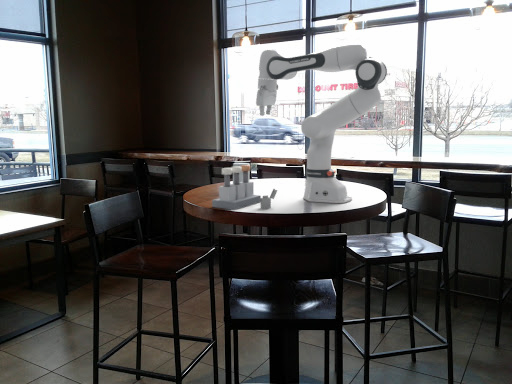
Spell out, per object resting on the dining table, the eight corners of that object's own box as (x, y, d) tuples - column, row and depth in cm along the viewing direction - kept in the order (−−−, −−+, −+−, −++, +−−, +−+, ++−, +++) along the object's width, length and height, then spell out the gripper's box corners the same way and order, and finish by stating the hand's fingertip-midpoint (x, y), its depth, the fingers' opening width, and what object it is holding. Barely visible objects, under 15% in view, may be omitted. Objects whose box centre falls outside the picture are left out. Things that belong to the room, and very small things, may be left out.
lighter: (261, 208, 187) (261, 189, 186) (260, 207, 189) (260, 189, 188) (277, 207, 189) (277, 188, 188) (276, 206, 191) (276, 188, 190)
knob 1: (234, 190, 191) (234, 168, 189) (228, 191, 187) (227, 169, 185) (226, 189, 193) (225, 167, 191) (220, 190, 189) (219, 168, 188)
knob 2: (252, 185, 202) (252, 165, 201) (247, 187, 199) (246, 166, 197) (244, 185, 205) (244, 164, 203) (239, 186, 201) (238, 165, 199)
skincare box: (232, 191, 232) (232, 163, 229) (234, 190, 238) (234, 162, 235) (248, 192, 231) (248, 163, 228) (250, 190, 237) (249, 162, 234)
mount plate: (260, 202, 202) (260, 182, 200) (234, 209, 185) (234, 188, 184) (239, 199, 208) (238, 180, 207) (212, 206, 192) (211, 186, 190)
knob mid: (243, 187, 196) (243, 166, 195) (238, 189, 193) (237, 167, 191) (235, 187, 199) (235, 166, 197) (229, 188, 195) (229, 167, 194)
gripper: (267, 85, 200) (264, 116, 203) (279, 86, 219) (277, 114, 222) (253, 84, 202) (251, 115, 205) (267, 85, 220) (265, 113, 224)
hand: (265, 115), depth 214 cm, fingers open, 8 cm apart
